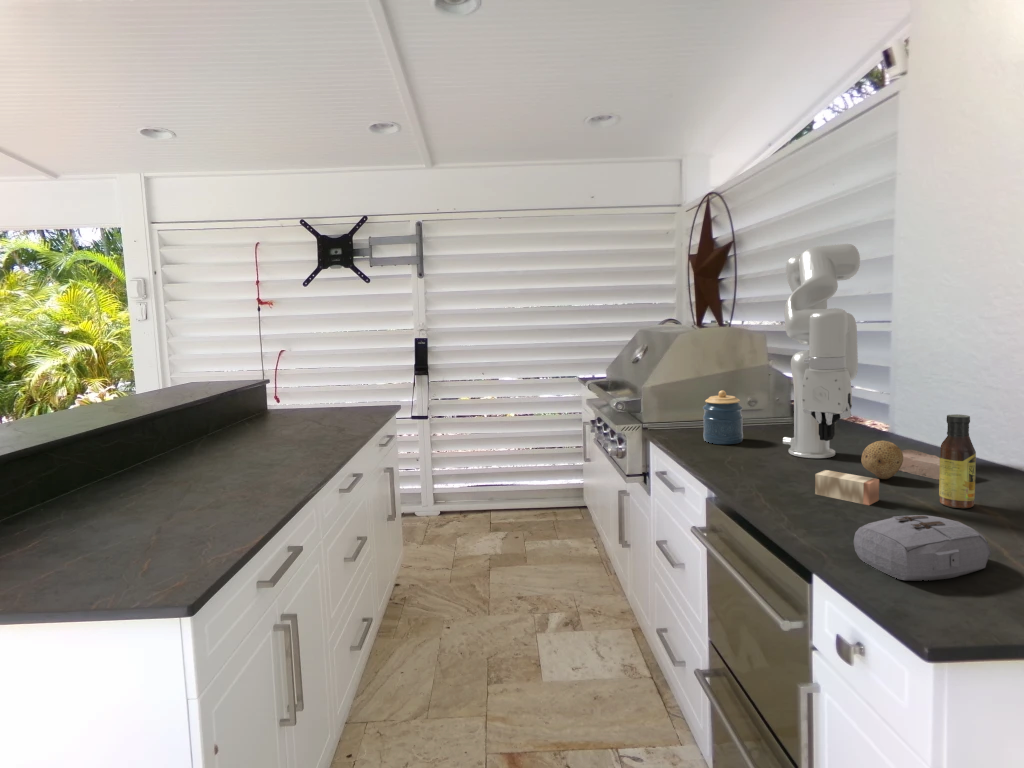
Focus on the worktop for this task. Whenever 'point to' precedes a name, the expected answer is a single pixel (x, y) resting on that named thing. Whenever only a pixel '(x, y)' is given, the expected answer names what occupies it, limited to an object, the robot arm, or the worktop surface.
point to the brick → (920, 464)
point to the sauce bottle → (957, 464)
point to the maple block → (847, 487)
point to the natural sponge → (882, 459)
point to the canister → (723, 419)
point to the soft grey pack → (921, 547)
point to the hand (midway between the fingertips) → (826, 439)
